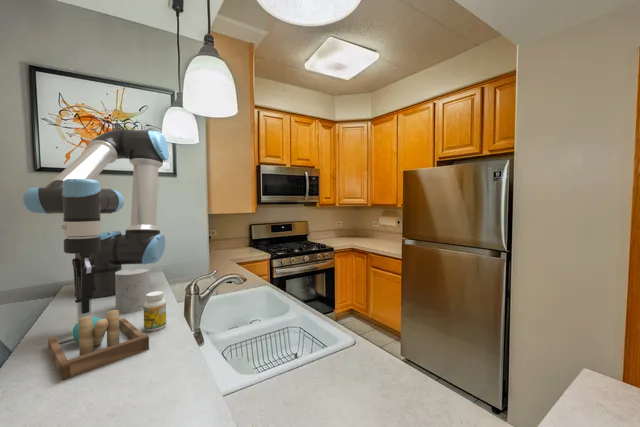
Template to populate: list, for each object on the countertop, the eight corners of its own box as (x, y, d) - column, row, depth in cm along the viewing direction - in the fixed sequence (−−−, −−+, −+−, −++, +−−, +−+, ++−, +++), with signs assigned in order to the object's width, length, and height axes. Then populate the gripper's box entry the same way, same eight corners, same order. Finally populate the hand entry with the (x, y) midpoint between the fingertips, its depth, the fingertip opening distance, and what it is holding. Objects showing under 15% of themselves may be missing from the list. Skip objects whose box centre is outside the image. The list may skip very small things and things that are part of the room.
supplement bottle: (170, 324, 78) (170, 291, 78) (155, 332, 73) (155, 297, 73) (154, 322, 80) (154, 289, 79) (138, 330, 74) (138, 295, 74)
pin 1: (78, 355, 62) (77, 318, 62) (92, 351, 64) (91, 315, 64) (80, 359, 60) (79, 321, 60) (94, 354, 62) (93, 318, 62)
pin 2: (105, 346, 66) (105, 312, 66) (117, 342, 68) (117, 309, 67) (108, 350, 64) (108, 314, 64) (120, 346, 66) (120, 311, 66)
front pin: (88, 338, 66) (94, 321, 62) (101, 335, 68) (107, 317, 64) (90, 348, 65) (96, 330, 61) (103, 344, 67) (109, 327, 63)
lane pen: (48, 348, 65) (48, 336, 65) (124, 326, 77) (124, 316, 76) (62, 380, 53) (61, 365, 53) (149, 348, 65) (148, 336, 65)
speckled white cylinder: (156, 303, 95) (156, 268, 94) (135, 314, 85) (135, 275, 85) (131, 302, 96) (130, 267, 95) (107, 312, 86) (106, 274, 86)
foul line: (54, 344, 67) (54, 343, 67) (117, 326, 77) (117, 325, 77) (54, 345, 66) (54, 344, 66) (118, 327, 76) (118, 326, 76)
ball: (72, 329, 64) (75, 351, 65) (105, 319, 68) (107, 340, 69) (69, 317, 67) (72, 338, 69) (100, 309, 72) (102, 329, 73)
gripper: (59, 236, 74) (61, 321, 75) (68, 240, 66) (70, 336, 67) (94, 234, 80) (95, 313, 81) (107, 237, 72) (108, 326, 73)
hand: (84, 323), depth 74 cm, fingers closed
